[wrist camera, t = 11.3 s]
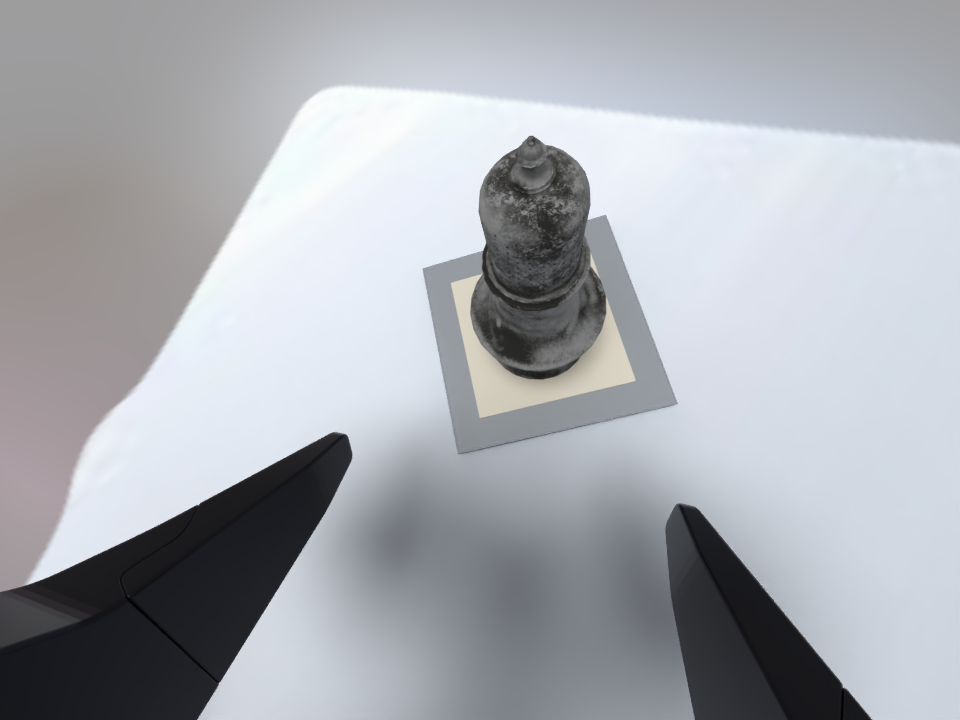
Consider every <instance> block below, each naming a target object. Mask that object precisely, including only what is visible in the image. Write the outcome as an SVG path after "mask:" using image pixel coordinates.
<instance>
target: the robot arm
mask: <svg viewBox="0 0 960 720" xmlns="http://www.w3.org/2000/svg"><path fill="white" fill-rule="evenodd" d="M351 460H352V450H351V446H350V442H349V438H348V436H347V435H346V434H342V433H337V432H333V433H330V434H328V435H326V436H325V437H323V438H321V439H319V440H317V441H315V442H313V443H312V444H310V445H308V446H306V447H304V448H302V449H300V450H299V451H297V452H295V453H293V454H291V455H289V456H287V457H286V458H284V459H282V460H280V461H278V462H276V463H274V464H272V465H271V466H269V467H267V468H265V469H263V470H261V471H259V472H258V473H256V474H254V475H252V476H250V477H248V478H246V479H245V480H243V481H241V482H239V483H237V484H235V485H233V486H232V487H230V488H228V489H226V490H224V491H222V492H220V493H218V494H217V495H215V496H213V497H211V498H209V499H207V500H205V501H204V502H202V503H200V504H199V505H196V506H194V507H192V508H190V509H189V510H187V511H185V512H183V513H181V514H179V515H177V516H175V517H173V518H171V519H170V520H168V521H166V522H164V523H162V524H160V525H158V526H156V527H154V528H152V529H150V530H148V531H146V532H144V533H142V534H140V535H138V536H136V537H133V538H131V539H129V540H127V541H125V542H123V543H121V544H119V545H117V546H115V547H112V548H110V549H108V550H106V551H104V552H102V553H100V554H98V555H95V556H93V557H91V558H89V559H87V560H85V561H83V562H81V563H78V564H76V565H74V566H72V567H70V568H68V569H66V570H64V571H61V572H59V573H57V574H55V575H52V576H50V577H48V578H45V579H43V580H40V581H38V582H35V583H32V584H29V585H26V586H23V587H20V588H16V589H11V590H8V591H3V592H0V720H197V719H198V718H199V716H200V714H201V713H202V711H203V709H204V708H205V706H206V705H207V703H208V701H209V700H210V698H211V697H212V695H213V693H214V692H215V690H216V689H217V687H218V685H219V682H221V680H222V678H223V677H224V675H225V674H226V672H227V670H228V669H229V667H230V666H231V664H232V662H233V661H234V659H235V657H236V656H237V654H238V653H239V651H240V649H241V648H242V646H243V645H244V643H245V641H246V640H247V638H248V636H249V635H250V633H251V632H252V630H253V628H254V627H255V625H256V624H257V622H258V620H259V619H260V617H261V616H262V614H263V612H264V611H265V609H266V607H267V606H268V604H269V603H270V601H271V599H272V598H273V596H274V595H275V593H276V591H277V590H278V588H279V586H280V585H281V583H282V582H283V580H284V578H285V577H286V575H287V574H288V572H289V570H290V569H291V567H292V566H293V564H294V562H295V561H296V559H297V557H298V556H299V554H300V553H301V551H302V549H303V548H304V546H305V545H306V543H307V541H308V540H309V538H310V536H311V535H312V533H313V532H314V530H315V528H316V527H317V525H318V524H319V522H320V520H321V519H322V517H323V515H324V514H325V512H326V510H327V509H328V507H329V505H330V503H331V501H332V499H333V497H334V495H335V493H336V491H337V489H338V487H339V485H340V483H341V481H342V479H343V477H344V475H345V473H346V471H347V469H348V467H349V465H350V463H351ZM666 544H667V555H668V567H669V579H670V590H671V599H672V605H673V610H674V615H675V621H676V626H677V631H678V636H679V641H680V646H681V651H682V656H683V661H684V666H685V671H686V676H687V682H688V687H689V692H690V697H691V702H692V707H693V712H694V717H695V720H872V719H871V718H870V717H869V715H868V714H867V713H866V712H865V710H864V709H863V708H862V707H861V706H860V704H859V703H858V702H857V701H856V700H855V698H854V697H853V696H852V695H851V694H850V692H849V691H848V690H847V689H845V688H843V686H842V683H841V682H840V680H839V679H838V678H837V677H836V676H835V674H834V673H833V672H832V671H831V669H830V668H829V667H828V666H827V665H826V663H825V662H824V661H823V660H822V659H821V657H820V656H819V655H818V654H817V653H816V651H815V650H814V649H813V648H812V646H811V645H810V644H809V643H808V642H807V640H806V639H805V638H804V637H803V636H802V634H801V633H800V632H799V631H798V629H797V628H796V627H795V626H794V625H793V623H792V622H791V621H790V620H789V619H788V617H787V616H786V615H785V614H784V612H783V611H782V610H781V609H780V608H779V606H778V605H777V604H776V603H775V602H774V600H773V599H772V598H771V597H770V595H769V594H768V593H767V592H766V591H765V589H764V588H763V587H762V586H761V585H760V583H759V582H758V581H757V580H756V578H755V577H754V576H753V575H752V574H751V572H750V571H749V570H748V569H747V568H746V566H745V565H744V564H743V563H742V562H741V560H740V559H739V558H738V557H737V555H736V554H735V553H734V552H733V551H732V549H731V548H730V547H729V546H728V545H727V543H726V542H725V541H724V540H723V538H722V537H721V536H720V535H719V534H718V532H717V531H716V530H715V529H714V528H713V526H712V525H711V524H710V523H709V521H708V520H707V519H706V518H705V517H704V515H703V514H702V513H701V512H700V511H699V510H698V509H697V508H696V507H694V506H690V505H685V504H681V503H678V504H676V505H675V507H674V509H673V511H672V513H671V515H670V517H669V519H668V521H667V524H666Z"/></svg>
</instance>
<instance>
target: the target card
mask: <svg viewBox="0 0 960 720" xmlns="http://www.w3.org/2000/svg"><path fill="white" fill-rule="evenodd" d="M584 235H585V237H586V238H587V241H588V244H589V247H590V252H591V265H590V266H591V267H592V268H593V270H594V271H595V273H596V274H597V275H598V277H599V278H600V280H601V282H602V285H603V289H604V292H605V295H606V316H605V320H604V324H603V328H602V331H601V332H600V334H599V335H598V337H597V339H596V340H595V342H594V344H593V345H592V346H591V347H590V348H589V349H588V350H587V351H586V352H585V353H584V354H583V355H582V356H581V357H580V358H579V360H578V361H577V362H576V363H575V364H574V365H573V366H572V367H571V368H570V369H569V370H567V371H565V372H564V373H562V374H560V375H558V376H556V377H552V378H547V379H543V380H539V379H527V378H523V377H520V376H516V375H515V374H513V373H511V372H510V371H508V370H506V369H505V368H504V367H503V366H502V365H501V364H500V363H499V362H498V361H497V360H496V358H494V357H493V356H492V355H491V354H490V353H489V352H488V351H487V350H486V349H485V348H484V347H483V346H482V345H481V343H480V341H479V339H478V337H477V335H476V333H475V332H474V330H473V325H472V320H471V316H470V308H471V297H472V294H473V292H474V289H475V286H476V283H477V281H478V280H479V278H480V277H481V276H482V274H483V271H482V267H481V266H482V254H483V251H481V252H478V253H474V254H471V255H467V256H464V257H460V258H457V259H454V260H450V261H447V262H443V263H440V264H437V265H433V266H430V267H426V268H423V273H424V278H425V283H426V289H427V294H428V299H429V304H430V310H431V315H432V320H433V325H434V330H435V336H436V341H437V346H438V351H439V357H440V362H441V367H442V372H443V378H444V383H445V388H446V393H447V398H448V404H449V409H450V414H451V419H452V425H453V430H454V435H455V440H456V445H457V451H458V454H461V453H466V452H470V451H475V450H479V449H483V448H488V447H492V446H496V445H501V444H505V443H510V442H514V441H518V440H523V439H527V438H531V437H536V436H540V435H545V434H549V433H553V432H558V431H562V430H566V429H571V428H575V427H580V426H584V425H588V424H593V423H597V422H601V421H606V420H610V419H615V418H619V417H623V416H628V415H632V414H636V413H641V412H645V411H650V410H654V409H658V408H663V407H667V406H671V405H675V404H678V403H677V401H676V398H675V395H674V393H673V390H672V388H671V385H670V382H669V380H668V377H667V374H666V372H665V369H664V367H663V364H662V361H661V359H660V356H659V353H658V351H657V348H656V345H655V343H654V340H653V338H652V335H651V332H650V330H649V327H648V324H647V322H646V319H645V317H644V314H643V311H642V309H641V306H640V303H639V301H638V298H637V295H636V293H635V290H634V288H633V285H632V282H631V280H630V277H629V274H628V272H627V269H626V267H625V264H624V261H623V259H622V256H621V253H620V251H619V248H618V245H617V243H616V240H615V238H614V235H613V232H612V230H611V227H610V224H609V222H608V219H607V217H606V215H604V216H601V217H597V218H594V219H590V220H587V223H586V228H585V233H584Z"/></svg>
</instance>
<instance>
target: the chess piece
mask: <svg viewBox="0 0 960 720" xmlns="http://www.w3.org/2000/svg"><path fill="white" fill-rule="evenodd" d="M589 209H590V187H589V182H588V179H587V176H586V173H585V171H584V170H583V168H582V167H581V166H580V164H579V163H578V162H577V161H576V160H575V159H574V158H572V157H571V156H570V155H568V154H567V153H566V152H564V151H563V150H561V149H558V148H556V147H553V146H548V145H545V144H543V143H542V142H541V141H540V140H538V139H537V138H535V137H534V136H529V137H528V138H527V139H526V140H525V141H524V142H523V143H522V145H521V146H520V147H518V148H517V149H515V150H513V151H511V152H510V153H508V154H506V155H505V156H503V157H502V158H501V159H500V160H499V161H498V162H497V163H496V164H495V165H494V166H493V167H492V168H491V170H490V171H489V173H488V174H487V176H486V177H485V179H484V181H483V184H482V187H481V189H480V198H479V215H480V219H481V224H482V227H483V231H484V235H485V239H486V245H485V248H484V251H483V254H482V266H481V267H482V271H483V274H482V276H481V277H480V278H479V280H478V281H477V283H476V286H475V289H474V292H473V294H472V297H471V308H470V316H471V320H472V325H473V330H474V332H475V333H476V335H477V337H478V339H479V341H480V343H481V345H482V346H483V347H484V348H485V349H486V350H487V351H488V352H489V353H490V354H491V355H492V356H493V357H494V358H496V360H497V361H498V362H499V363H500V364H501V365H502V366H503V367H504V368H505V369H506V370H508V371H510V372H511V373H513V374H515V375H516V376H520V377H523V378H527V379H539V380H543V379H547V378H552V377H556V376H558V375H560V374H562V373H564V372H565V371H567V370H569V369H570V368H571V367H572V366H573V365H574V364H575V363H576V362H577V361H578V360H579V358H580V357H581V356H582V355H583V354H584V353H585V352H586V351H587V350H588V349H589V348H590V347H591V346H592V345H593V344H594V342H595V340H596V339H597V337H598V335H599V334H600V332H601V331H602V328H603V324H604V320H605V316H606V295H605V292H604V289H603V285H602V282H601V280H600V278H599V277H598V275H597V274H596V273H595V271H594V270H593V268H592V267H591V266H590V265H591V252H590V247H589V244H588V241H587V238H586V237H585V235H584V233H585V228H586V223H587V219H588V214H589Z"/></svg>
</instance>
